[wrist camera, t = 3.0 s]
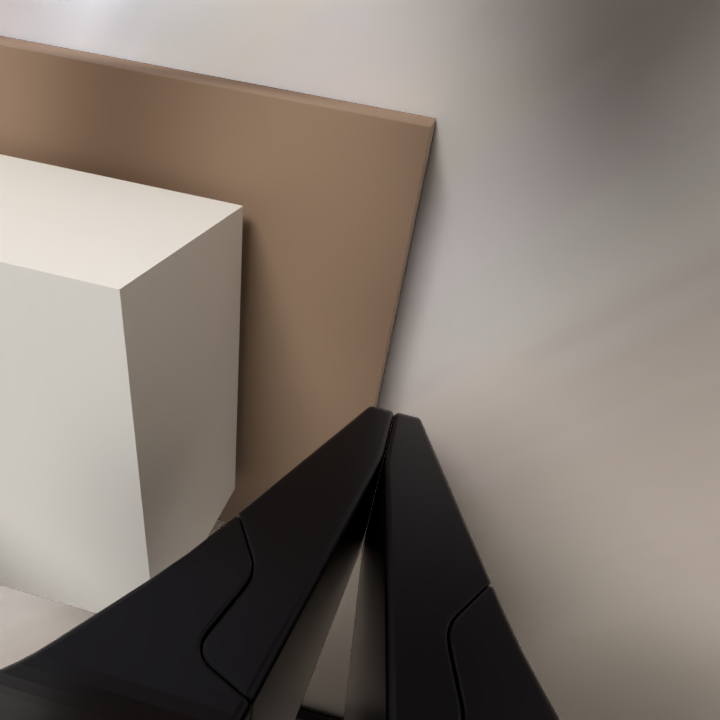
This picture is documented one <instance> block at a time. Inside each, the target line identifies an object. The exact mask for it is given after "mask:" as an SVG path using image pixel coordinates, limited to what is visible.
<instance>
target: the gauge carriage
mask: <svg viewBox="0 0 720 720" xmlns="http://www.w3.org/2000/svg"><path fill="white" fill-rule="evenodd" d="M242 228H243V206H242V205H237V204H232V203H228V202H223V201H218V200H213V199H209V198H204V197H199V196H195V195H190V194H185V193H181V192H176V191H171V190H166V189H162V188H157V187H152V186H148V185H143V184H138V183H133V182H129V181H124V180H119V179H115V178H110V177H105V176H100V175H96V174H91V173H86V172H82V171H77V170H72V169H67V168H63V167H58V166H53V165H49V164H44V163H39V162H34V161H30V160H25V159H20V158H16V157H11V156H6V155H1V154H0V585H2V586H5V587H9V588H12V589H15V590H19V591H22V592H26V593H29V594H32V595H36V596H39V597H43V598H46V599H50V600H53V601H56V602H60V603H63V604H67V605H70V606H73V607H77V608H80V609H84V610H87V611H90V612H94V613H98V612H100V611H101V610H103V609H104V608H106V607H107V606H109V605H110V604H112V603H114V602H115V601H117V600H118V599H120V598H121V597H123V596H124V595H126V594H128V593H129V592H131V591H132V590H134V589H135V588H137V587H138V586H140V585H142V584H143V583H145V582H146V581H148V580H149V579H151V578H152V577H154V576H155V575H157V574H158V573H160V572H161V571H163V570H164V569H165V568H167V567H168V566H170V565H171V564H173V563H174V562H176V561H177V560H179V559H180V558H182V557H183V556H185V555H186V554H187V553H189V552H190V551H191V550H193V549H194V548H195V547H197V546H198V545H199V544H200V543H202V542H203V541H204V540H206V539H207V537H208V536H209V534H210V532H211V530H212V528H213V527H214V525H215V523H216V521H217V520H218V518H219V516H220V514H221V512H222V511H223V509H224V507H225V505H226V503H227V502H228V500H229V498H230V496H231V495H232V493H233V491H234V489H235V468H236V434H237V399H238V365H239V331H240V296H241V262H242Z"/></svg>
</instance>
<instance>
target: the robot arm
mask: <svg viewBox="0 0 720 720" xmlns="http://www.w3.org/2000/svg"><path fill="white" fill-rule="evenodd" d="M393 417H394V418H393ZM392 421H393V422H392ZM391 425H392V427H391ZM390 429H391V431H390ZM389 433H390V435H389ZM388 438H389V439H388ZM387 442H388V443H387ZM386 446H387V447H386ZM385 450H386V451H385ZM384 454H385V455H384ZM383 458H384V459H383ZM382 462H383V464H382ZM381 466H382V468H381ZM380 470H381V472H380ZM379 475H380V476H379ZM378 479H379V480H378ZM377 483H378V484H377ZM376 487H377V488H376ZM375 491H376V492H375ZM374 495H375V497H374ZM373 499H374V501H373ZM372 503H373V505H372ZM371 508H372V509H371ZM370 512H371V513H370ZM369 516H370V517H369ZM368 520H369V521H368ZM367 524H368V525H367ZM366 528H367V530H366ZM365 532H366V534H365ZM364 536H365V539H364ZM363 539H364V544H363V551H362V558H361V567H360V576H359V585H358V594H357V603H356V612H355V621H354V631H353V640H352V649H351V658H350V667H349V676H348V685H347V694H346V703H345V713H344V720H560V719H559V718H558V716H557V714H556V712H555V710H554V709H553V707H552V705H551V703H550V702H549V700H548V698H547V696H546V694H545V693H544V691H543V689H542V687H541V685H540V683H539V681H538V680H537V678H536V676H535V674H534V672H533V670H532V668H531V667H530V665H529V663H528V661H527V659H526V657H525V655H524V654H523V652H522V650H521V648H520V645H519V643H518V641H517V639H516V637H515V635H514V633H513V631H512V628H511V626H510V624H509V622H508V620H507V618H506V616H505V613H504V611H503V609H502V607H501V604H500V602H499V599H498V597H497V595H496V592H495V590H494V588H493V587H491V586H490V585H491V582H490V579H489V577H488V575H487V572H486V570H485V568H484V565H483V563H482V561H481V558H480V556H479V554H478V551H477V549H476V547H475V545H474V542H473V540H472V538H471V535H470V533H469V531H468V528H467V526H466V524H465V521H464V519H463V517H462V515H461V512H460V510H459V508H458V505H457V503H456V501H455V498H454V496H453V494H452V491H451V489H450V487H449V484H448V482H447V480H446V478H445V475H444V473H443V471H442V468H441V466H440V464H439V461H438V459H437V457H436V454H435V452H434V450H433V448H432V445H431V443H430V441H429V438H428V436H427V434H426V431H425V429H424V427H423V424H422V422H421V420H420V419H419V418H417V417H413V416H409V415H405V414H401V413H397V414H395V415H394V414H393V412H392V411H389V410H385V409H381V408H377V407H372V406H371V407H368V408H367V409H366V410H364V411H363V412H362V413H361V414H359V415H358V416H357V417H356V418H355V419H353V420H352V421H351V422H350V423H348V424H347V425H346V426H345V427H344V428H342V429H341V430H340V431H339V432H337V433H336V434H335V435H334V436H333V437H331V438H330V439H329V440H328V441H326V442H325V443H324V444H323V445H322V446H320V447H319V448H318V449H317V450H315V451H314V452H313V453H312V454H311V455H309V456H308V457H307V458H306V459H304V460H303V461H302V462H301V463H300V464H298V465H297V466H296V467H295V468H293V469H292V470H291V471H290V472H289V473H287V474H286V475H285V476H284V477H282V478H281V479H280V480H279V481H278V482H276V483H275V484H274V485H273V486H271V487H270V488H269V489H268V490H267V491H265V492H264V493H263V494H262V495H260V496H259V497H258V498H257V499H255V500H254V501H253V502H252V503H251V504H249V505H248V506H247V507H246V508H244V509H243V510H242V511H241V512H240V513H239V514H238V517H236V516H235V517H233V518H232V519H231V520H229V521H228V522H227V523H226V524H225V525H223V526H222V527H221V528H220V529H218V530H217V531H216V532H215V533H214V534H212V535H211V536H210V537H208V538H207V539H206V540H204V541H203V542H202V543H200V544H199V545H198V546H197V547H195V548H194V549H193V550H191V551H190V552H189V553H187V554H186V555H185V556H183V557H182V558H180V559H179V560H177V561H176V562H174V563H173V564H171V565H170V566H168V567H167V568H165V569H164V570H163V571H161V572H160V573H158V574H157V575H155V576H154V577H152V578H151V579H149V580H148V581H146V582H145V583H143V584H142V585H140V586H138V587H137V588H135V589H134V590H132V591H131V592H129V593H128V594H126V595H124V596H123V597H121V598H120V599H118V600H117V601H115V602H114V603H112V604H110V605H109V606H107V607H106V608H104V609H103V610H101V611H100V612H98V613H97V614H95V615H93V616H92V617H90V618H89V619H87V620H86V621H84V622H83V623H81V624H79V625H78V626H76V627H75V628H73V629H72V630H70V631H69V632H67V633H65V634H64V635H62V636H61V637H59V638H58V639H56V640H55V641H53V642H51V643H50V644H48V645H47V646H45V647H43V648H42V649H40V650H38V651H37V652H35V653H33V654H31V655H29V656H27V657H25V658H23V659H22V660H20V661H18V662H16V663H14V664H11V665H9V666H7V667H5V668H2V669H0V720H335V719H331V718H328V717H325V716H321V715H318V714H315V713H311V712H308V711H305V710H301V709H299V708H300V705H301V703H302V700H303V697H304V695H305V692H306V690H307V687H308V684H309V682H310V679H311V677H312V674H313V671H314V669H315V666H316V664H317V661H318V659H319V656H320V653H321V651H322V648H323V646H324V643H325V640H326V638H327V635H328V633H329V630H330V627H331V625H332V622H333V620H334V617H335V614H336V612H337V609H338V607H339V604H340V601H341V599H342V596H343V594H344V591H345V588H346V586H347V583H348V581H349V578H350V575H351V573H352V570H353V568H354V565H355V563H356V560H357V557H358V554H359V552H360V549H361V546H362V543H363Z"/></svg>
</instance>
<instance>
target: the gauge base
mask: <svg viewBox="0 0 720 720" xmlns="http://www.w3.org/2000/svg"><path fill="white" fill-rule="evenodd" d="M435 122H436V118H430V117H425V116H420V115H414V114H409V113H404V112H399V111H393V110H388V109H383V108H378V107H372V106H367V105H362V104H357V103H351V102H346V101H341V100H335V99H330V98H325V97H320V96H314V95H309V94H304V93H299V92H293V91H288V90H283V89H277V88H272V87H267V86H262V85H256V84H251V83H246V82H241V81H235V80H230V79H225V78H220V77H214V76H209V75H204V74H198V73H193V72H188V71H183V70H177V69H172V68H167V67H162V66H156V65H151V64H146V63H141V62H135V61H130V60H125V59H119V58H114V57H109V56H104V55H98V54H93V53H88V52H83V51H77V50H72V49H67V48H62V47H56V46H51V45H46V44H40V43H35V42H30V41H25V40H19V39H14V38H9V37H4V36H0V154H1V155H6V156H11V157H16V158H20V159H25V160H30V161H34V162H39V163H44V164H49V165H53V166H58V167H63V168H67V169H72V170H77V171H82V172H86V173H91V174H96V175H100V176H105V177H110V178H115V179H119V180H124V181H129V182H133V183H138V184H143V185H148V186H152V187H157V188H162V189H166V190H171V191H176V192H181V193H185V194H190V195H195V196H199V197H204V198H209V199H213V200H218V201H223V202H228V203H232V204H237V205H242V206H243V228H242V262H241V296H240V331H239V365H238V399H237V434H236V468H235V489H234V491H233V493H232V495H231V496H230V498H229V500H228V502H227V503H226V505H225V507H224V509H223V511H222V512H221V514H220V516H219V518H218V520H221V521H225V522H228V521H229V520H231V519H232V518H233V517H235V516H236V517H238V514H239V513H240V512H241V511H242V510H243V509H244V508H246V507H247V506H248V505H249V504H251V503H252V502H253V501H254V500H255V499H257V498H258V497H259V496H260V495H262V494H263V493H264V492H265V491H267V490H268V489H269V488H270V487H271V486H273V485H274V484H275V483H276V482H278V481H279V480H280V479H281V478H282V477H284V476H285V475H286V474H287V473H289V472H290V471H291V470H292V469H293V468H295V467H296V466H297V465H298V464H300V463H301V462H302V461H303V460H304V459H306V458H307V457H308V456H309V455H311V454H312V453H313V452H314V451H315V450H317V449H318V448H319V447H320V446H322V445H323V444H324V443H325V442H326V441H328V440H329V439H330V438H331V437H333V436H334V435H335V434H336V433H337V432H339V431H340V430H341V429H342V428H344V427H345V426H346V425H347V424H348V423H350V422H351V421H352V420H353V419H355V418H356V417H357V416H358V415H359V414H361V413H362V412H363V411H364V410H366V409H367V408H368V407H371V406H372V407H377V403H378V398H379V393H380V388H381V383H382V379H383V374H384V369H385V364H386V359H387V354H388V350H389V345H390V340H391V335H392V330H393V325H394V321H395V316H396V311H397V306H398V301H399V296H400V291H401V287H402V282H403V277H404V272H405V267H406V262H407V258H408V253H409V248H410V243H411V238H412V233H413V229H414V224H415V219H416V214H417V209H418V204H419V200H420V195H421V190H422V185H423V180H424V175H425V171H426V166H427V161H428V156H429V151H430V146H431V142H432V137H433V132H434V127H435Z"/></svg>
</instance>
